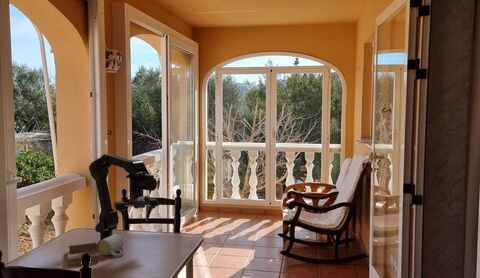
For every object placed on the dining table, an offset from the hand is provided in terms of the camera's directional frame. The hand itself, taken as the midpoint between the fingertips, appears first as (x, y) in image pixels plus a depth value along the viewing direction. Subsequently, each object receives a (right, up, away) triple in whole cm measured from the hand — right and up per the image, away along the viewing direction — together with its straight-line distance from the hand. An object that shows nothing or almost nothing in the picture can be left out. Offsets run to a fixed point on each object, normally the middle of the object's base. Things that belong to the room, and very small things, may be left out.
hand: (136, 222), depth 173 cm
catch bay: (-21, -13, -7) cm, 26 cm away
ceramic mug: (-10, -13, -2) cm, 17 cm away
